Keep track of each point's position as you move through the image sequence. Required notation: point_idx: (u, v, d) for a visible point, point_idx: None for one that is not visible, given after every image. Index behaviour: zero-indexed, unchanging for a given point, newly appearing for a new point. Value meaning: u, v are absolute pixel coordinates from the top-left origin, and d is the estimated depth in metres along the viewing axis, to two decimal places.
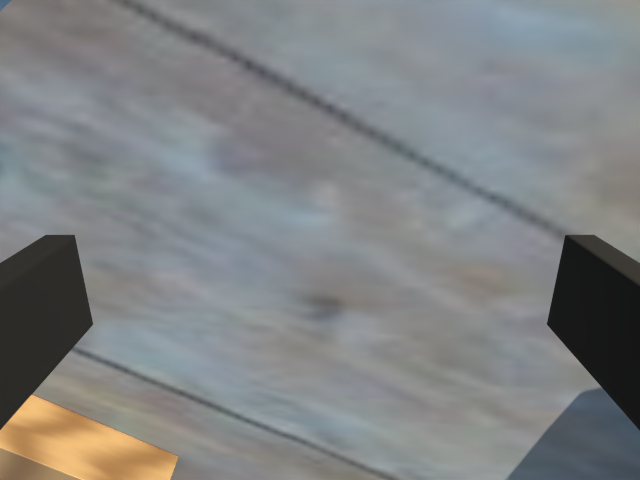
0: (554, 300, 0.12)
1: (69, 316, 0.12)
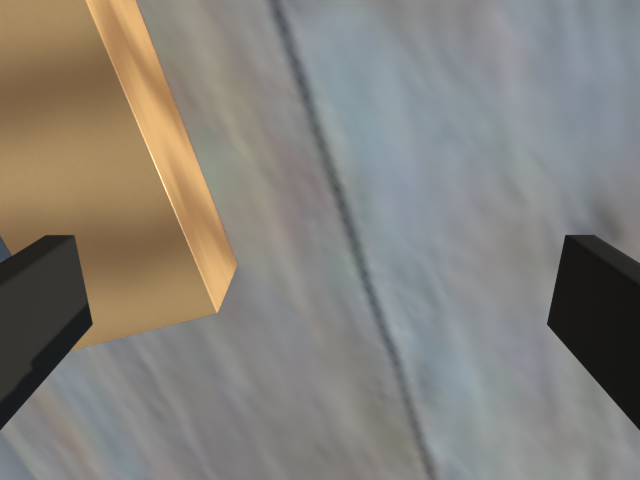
0: (554, 300, 0.12)
1: (69, 316, 0.12)
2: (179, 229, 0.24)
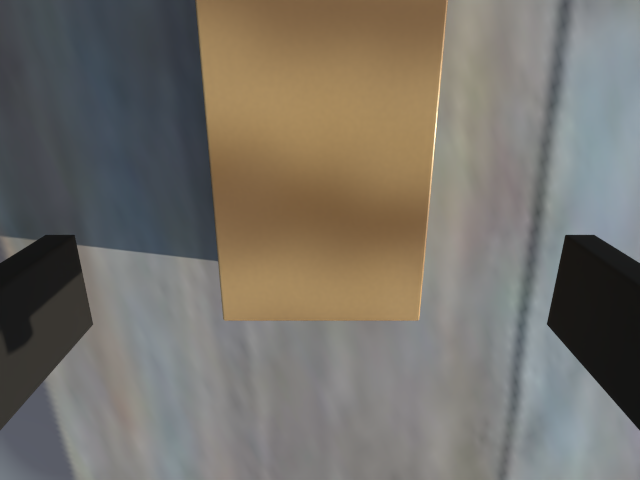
0: (554, 300, 0.12)
1: (69, 316, 0.12)
2: (425, 216, 0.20)
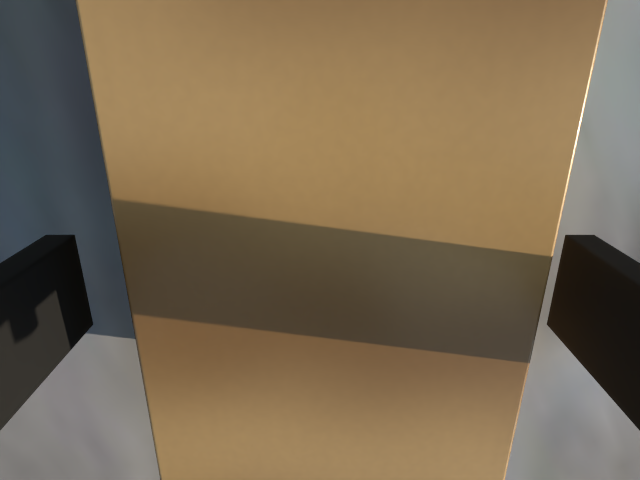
0: (554, 300, 0.12)
1: (69, 316, 0.12)
2: (529, 336, 0.11)
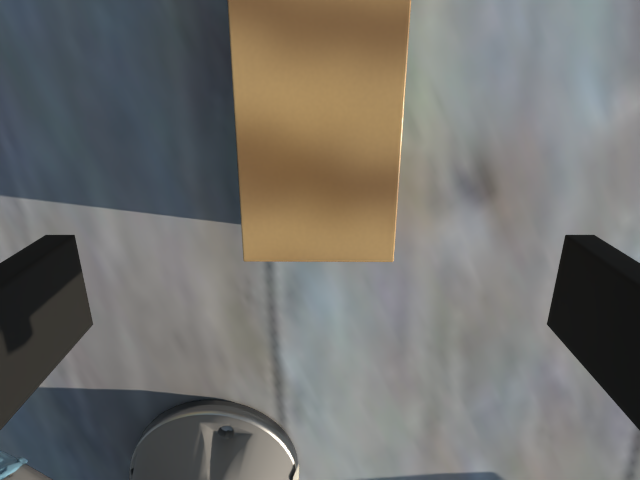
0: (554, 300, 0.12)
1: (69, 316, 0.12)
2: (396, 179, 0.27)
